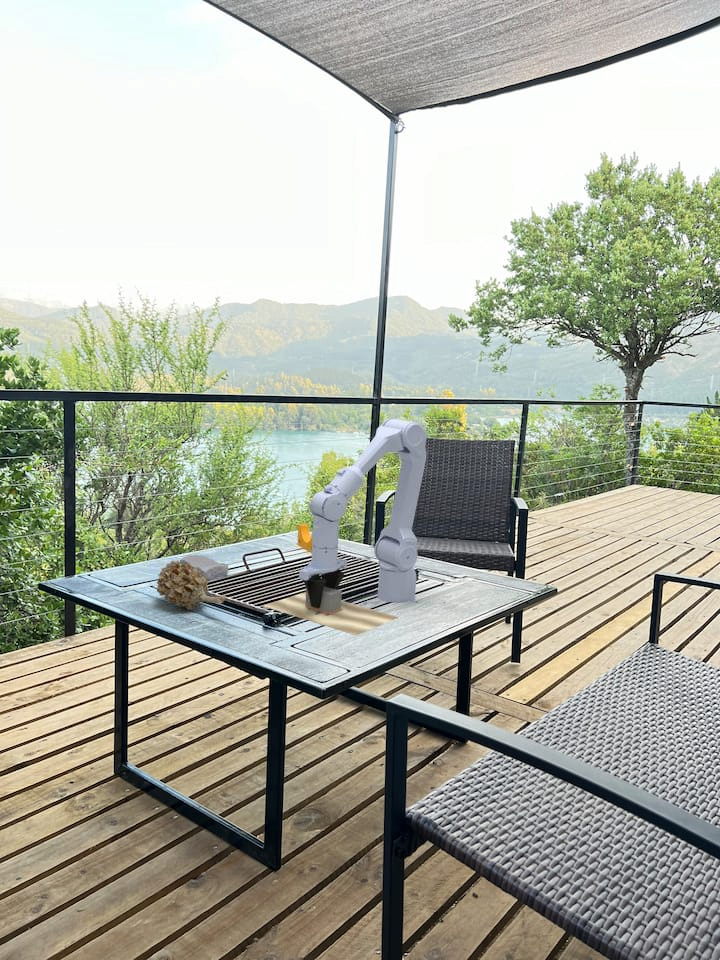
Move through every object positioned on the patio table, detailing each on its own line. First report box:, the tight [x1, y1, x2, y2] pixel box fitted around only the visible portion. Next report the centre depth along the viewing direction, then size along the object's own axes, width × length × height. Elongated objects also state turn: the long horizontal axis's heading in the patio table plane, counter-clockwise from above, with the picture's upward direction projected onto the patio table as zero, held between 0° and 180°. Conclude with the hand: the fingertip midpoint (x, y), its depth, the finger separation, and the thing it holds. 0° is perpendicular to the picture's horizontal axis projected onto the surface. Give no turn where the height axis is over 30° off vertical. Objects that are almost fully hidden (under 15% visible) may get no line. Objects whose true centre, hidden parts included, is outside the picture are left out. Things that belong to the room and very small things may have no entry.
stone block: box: [179, 554, 230, 581], centre depth 204 cm, size 12×5×10 cm
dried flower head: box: [156, 560, 226, 611], centre depth 174 cm, size 22×10×10 cm, turn 56°
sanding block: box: [305, 586, 343, 615], centre depth 176 cm, size 4×7×4 cm, turn 54°
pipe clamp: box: [297, 523, 313, 554], centre depth 235 cm, size 12×4×6 cm, turn 28°
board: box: [262, 591, 399, 636], centre depth 175 cm, size 16×26×2 cm, turn 54°
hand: (321, 604), depth 176 cm, fingers closed on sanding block, 4 cm apart
